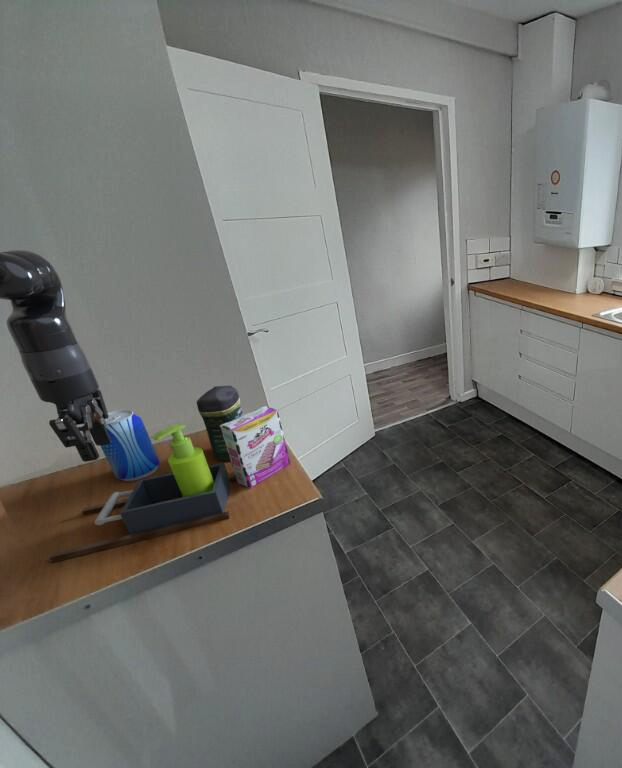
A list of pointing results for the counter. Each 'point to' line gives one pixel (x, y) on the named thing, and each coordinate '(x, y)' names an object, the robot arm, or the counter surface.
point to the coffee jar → (219, 416)
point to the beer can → (129, 447)
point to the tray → (167, 502)
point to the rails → (136, 536)
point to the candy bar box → (256, 446)
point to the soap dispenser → (187, 463)
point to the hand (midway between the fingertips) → (98, 451)
